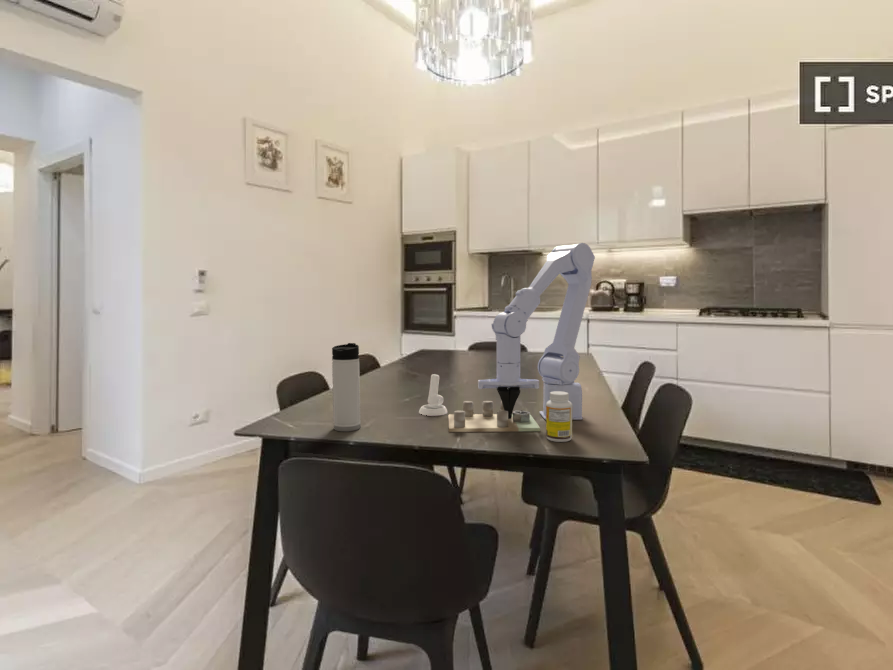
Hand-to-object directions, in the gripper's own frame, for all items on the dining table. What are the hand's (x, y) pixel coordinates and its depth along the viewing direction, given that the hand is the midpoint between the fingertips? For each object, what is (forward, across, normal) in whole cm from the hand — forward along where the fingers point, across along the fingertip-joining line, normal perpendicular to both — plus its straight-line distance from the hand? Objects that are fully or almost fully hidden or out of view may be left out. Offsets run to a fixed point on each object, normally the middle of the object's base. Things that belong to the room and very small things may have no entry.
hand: (508, 417), depth 128 cm
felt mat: (+2, -4, 0) cm, 4 cm away
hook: (+2, +18, -13) cm, 23 cm away
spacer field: (+2, +6, 0) cm, 7 cm away
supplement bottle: (+2, -9, +14) cm, 17 cm away
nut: (+1, -3, 0) cm, 3 cm away
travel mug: (+2, +38, +3) cm, 39 cm away
